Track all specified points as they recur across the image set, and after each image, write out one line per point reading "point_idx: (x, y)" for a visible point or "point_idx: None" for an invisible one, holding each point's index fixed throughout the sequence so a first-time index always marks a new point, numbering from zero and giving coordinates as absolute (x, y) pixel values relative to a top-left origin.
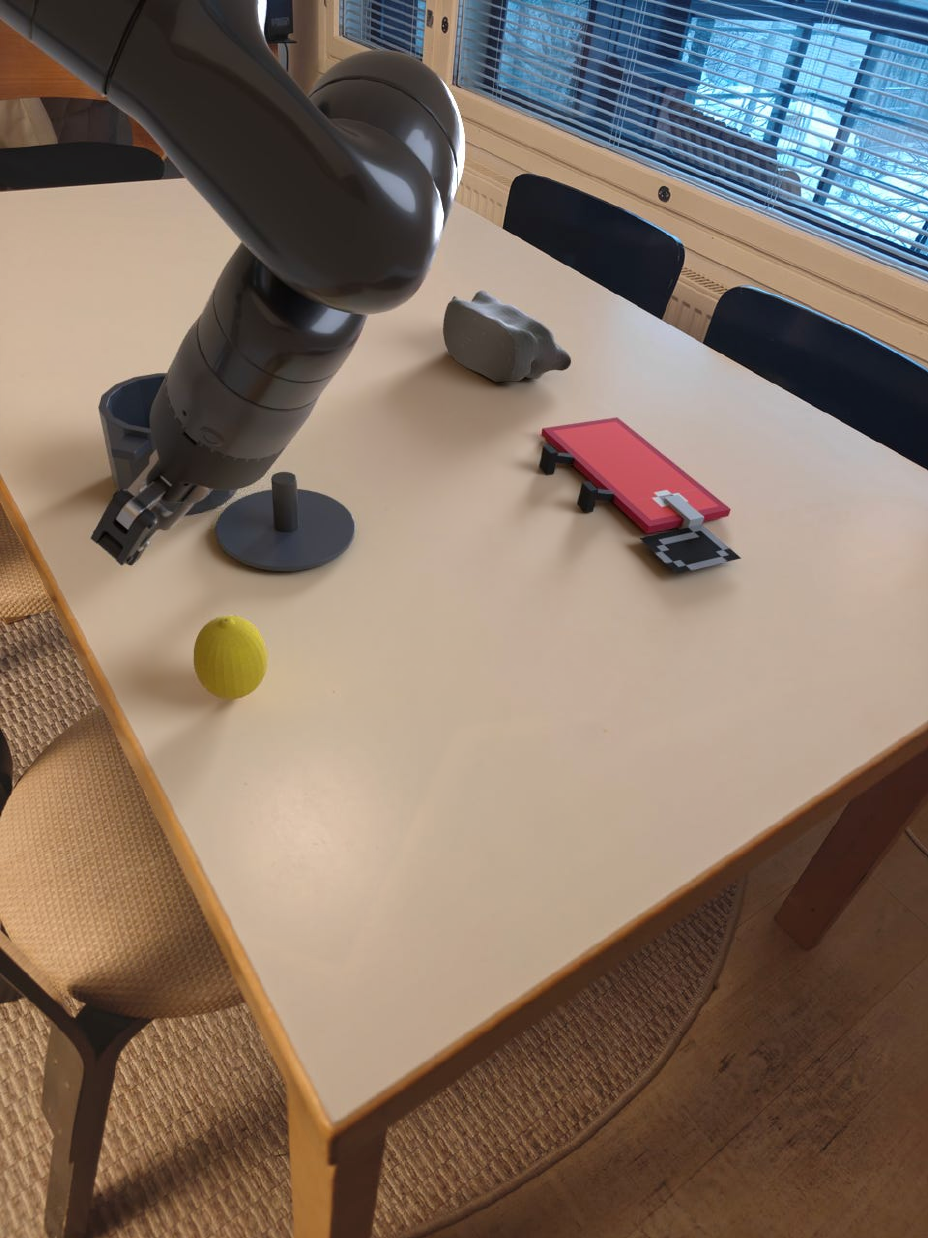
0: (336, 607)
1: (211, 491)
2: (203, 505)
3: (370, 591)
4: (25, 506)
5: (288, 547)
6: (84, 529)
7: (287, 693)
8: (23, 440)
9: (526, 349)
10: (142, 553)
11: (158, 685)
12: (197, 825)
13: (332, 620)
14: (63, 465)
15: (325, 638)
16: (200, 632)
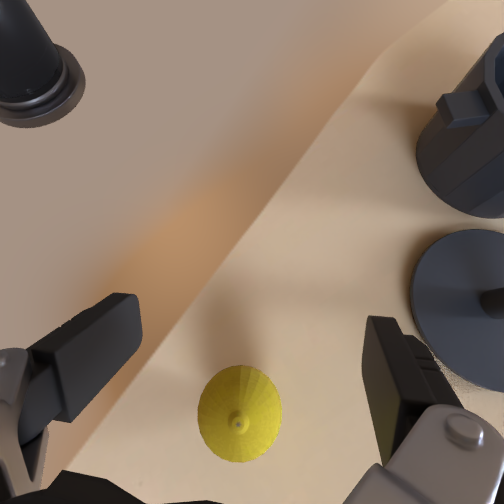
0: None
1: (362, 372)
2: (461, 206)
3: None
4: (360, 81)
5: (462, 329)
6: (364, 137)
7: (266, 453)
8: (433, 24)
9: None
10: (121, 366)
11: (221, 322)
12: (81, 467)
13: None
14: (427, 68)
15: (361, 447)
16: (226, 383)
